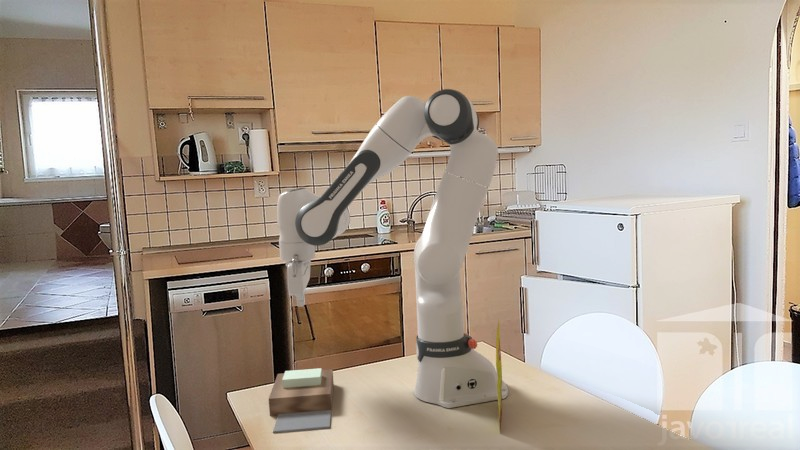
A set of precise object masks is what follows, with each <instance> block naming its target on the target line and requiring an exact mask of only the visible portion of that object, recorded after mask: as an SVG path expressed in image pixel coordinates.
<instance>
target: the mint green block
mask: <svg viewBox="0 0 800 450" xmlns="http://www.w3.org/2000/svg"><path fill="white" fill-rule="evenodd" d="M322 370H323V369H322V368H321V367H320V368H318V367H317V368H308V369H305V368H304V369H295V370H294V369H292V370H285V371H284V376H283V379H282V383H283V388H288V387H301V386H313V385H321V380H322Z"/></svg>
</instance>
